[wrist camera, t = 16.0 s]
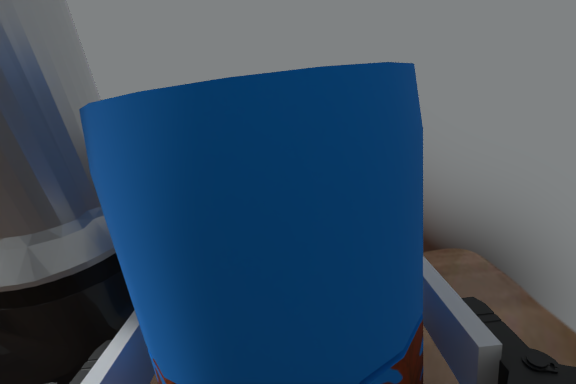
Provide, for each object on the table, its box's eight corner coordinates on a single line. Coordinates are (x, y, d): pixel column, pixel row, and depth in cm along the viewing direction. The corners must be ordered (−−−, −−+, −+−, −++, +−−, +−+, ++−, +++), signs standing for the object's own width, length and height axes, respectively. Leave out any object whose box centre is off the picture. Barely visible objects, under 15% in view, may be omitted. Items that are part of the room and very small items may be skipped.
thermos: (198, 532, 18) (58, 119, 11) (317, 408, 25) (276, 95, 18) (332, 848, 10) (126, 64, 3) (458, 540, 17) (484, 58, 10)
